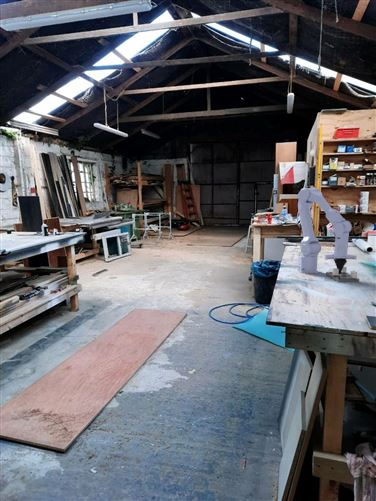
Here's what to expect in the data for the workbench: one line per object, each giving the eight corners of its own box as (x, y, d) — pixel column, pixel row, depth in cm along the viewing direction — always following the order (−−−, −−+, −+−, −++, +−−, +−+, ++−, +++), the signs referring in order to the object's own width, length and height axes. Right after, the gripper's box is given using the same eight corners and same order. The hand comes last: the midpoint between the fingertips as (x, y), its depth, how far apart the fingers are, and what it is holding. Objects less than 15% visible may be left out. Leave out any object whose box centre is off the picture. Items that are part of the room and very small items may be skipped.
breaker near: (352, 277, 151) (353, 272, 151) (350, 276, 153) (350, 271, 153) (356, 277, 151) (357, 272, 151) (354, 276, 153) (355, 271, 153)
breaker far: (342, 272, 162) (342, 266, 161) (340, 271, 164) (340, 265, 164) (346, 272, 162) (346, 266, 161) (344, 271, 164) (344, 265, 164)
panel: (337, 281, 151) (337, 278, 151) (325, 274, 165) (326, 271, 165) (359, 281, 151) (359, 278, 151) (345, 274, 165) (345, 271, 164)
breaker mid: (334, 275, 157) (334, 269, 156) (332, 273, 159) (332, 268, 158) (338, 275, 157) (338, 269, 156) (336, 273, 159) (336, 268, 158)
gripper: (329, 247, 152) (327, 275, 154) (360, 247, 151) (358, 275, 153) (323, 245, 158) (321, 272, 161) (353, 245, 158) (351, 272, 160)
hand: (339, 273), depth 158 cm, fingers closed
